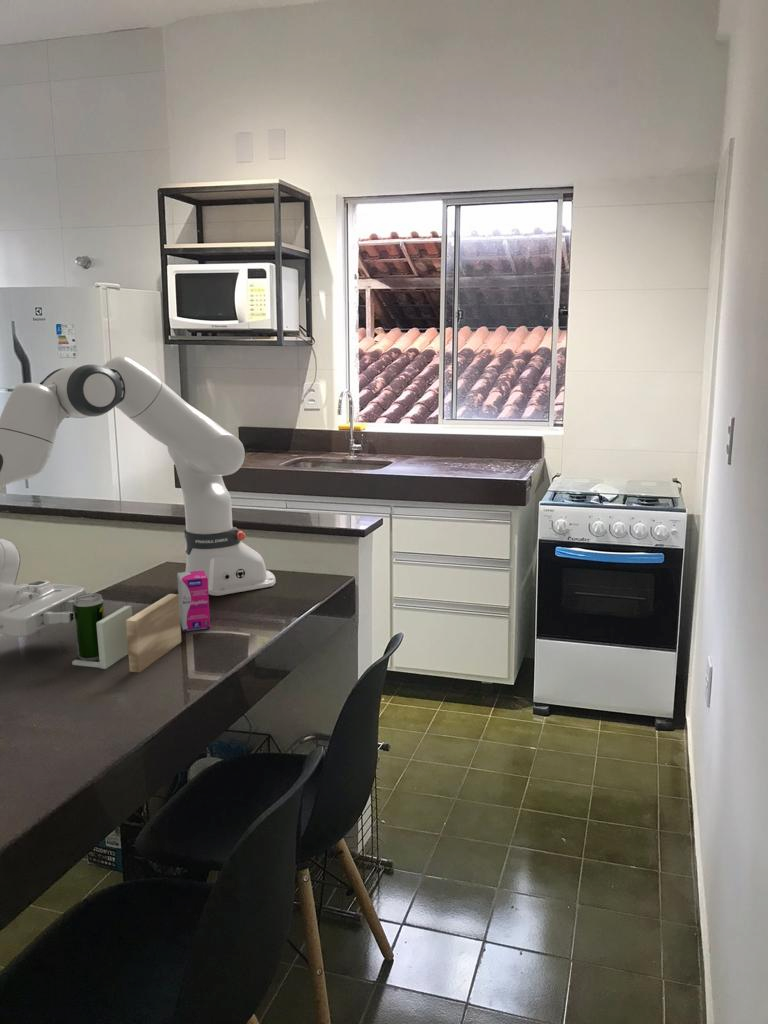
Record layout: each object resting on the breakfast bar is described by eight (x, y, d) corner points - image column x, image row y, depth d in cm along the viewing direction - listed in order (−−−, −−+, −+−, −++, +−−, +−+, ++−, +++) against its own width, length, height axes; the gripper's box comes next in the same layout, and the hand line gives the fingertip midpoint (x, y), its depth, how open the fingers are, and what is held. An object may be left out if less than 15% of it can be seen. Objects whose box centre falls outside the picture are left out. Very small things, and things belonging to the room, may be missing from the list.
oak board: (129, 671, 156) (125, 620, 154) (172, 640, 171) (169, 593, 169) (139, 672, 156) (135, 621, 153) (181, 641, 171) (178, 594, 169)
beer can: (81, 663, 160) (76, 603, 157) (75, 654, 164) (70, 595, 162) (110, 658, 162) (105, 598, 160) (104, 649, 167) (99, 591, 164)
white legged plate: (71, 665, 159) (67, 619, 157) (102, 646, 169) (98, 603, 167) (105, 669, 157) (102, 623, 155) (134, 649, 167) (131, 606, 165)
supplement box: (182, 632, 176) (179, 579, 173) (179, 623, 181) (176, 572, 179) (210, 629, 178) (208, 576, 175) (206, 620, 183) (204, 569, 181)
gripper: (-23, 609, 155) (42, 615, 152) (48, 577, 175) (107, 582, 171) (-19, 641, 157) (46, 648, 153) (51, 606, 176) (109, 612, 172)
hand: (79, 613), depth 162 cm, fingers open, 3 cm apart
